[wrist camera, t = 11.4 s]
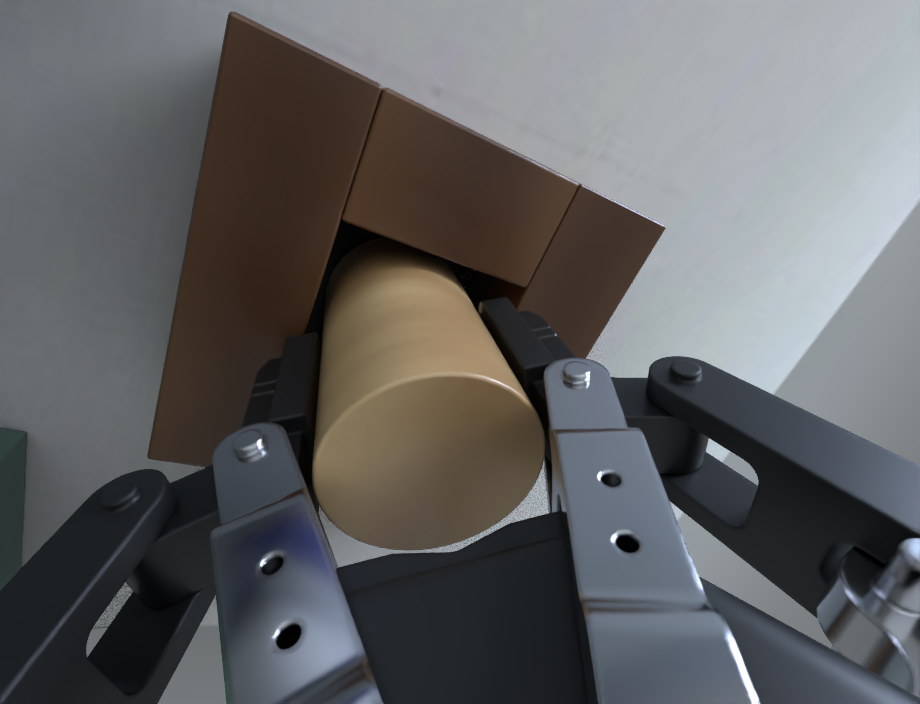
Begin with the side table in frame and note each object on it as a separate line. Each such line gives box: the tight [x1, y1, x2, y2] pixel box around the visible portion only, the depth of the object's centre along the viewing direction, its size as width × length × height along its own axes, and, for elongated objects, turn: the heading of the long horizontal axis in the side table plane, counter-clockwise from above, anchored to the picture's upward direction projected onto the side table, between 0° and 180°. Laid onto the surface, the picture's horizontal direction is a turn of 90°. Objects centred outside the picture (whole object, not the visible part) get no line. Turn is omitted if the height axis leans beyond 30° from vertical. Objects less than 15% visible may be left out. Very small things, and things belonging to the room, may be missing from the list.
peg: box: [312, 237, 545, 550], centre depth 12 cm, size 4×4×8 cm
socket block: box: [148, 12, 666, 467], centre depth 14 cm, size 11×11×4 cm
